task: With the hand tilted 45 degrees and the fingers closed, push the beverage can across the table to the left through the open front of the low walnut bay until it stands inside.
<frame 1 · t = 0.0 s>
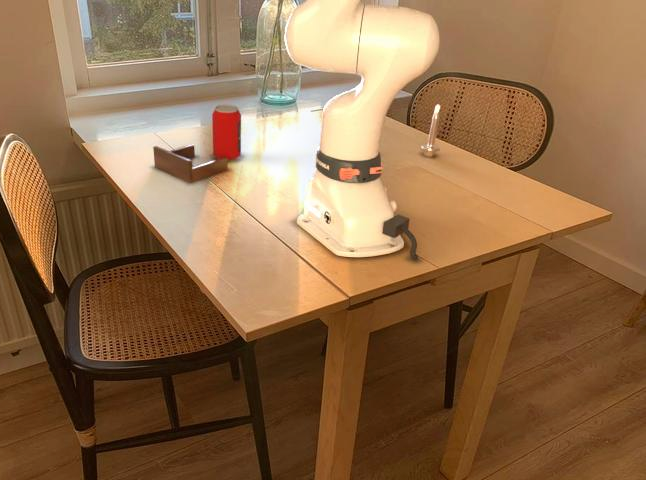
bay: (192, 168, 135), on the table
screw: (428, 155, 150), on the table
beverage can: (227, 157, 142), on the table
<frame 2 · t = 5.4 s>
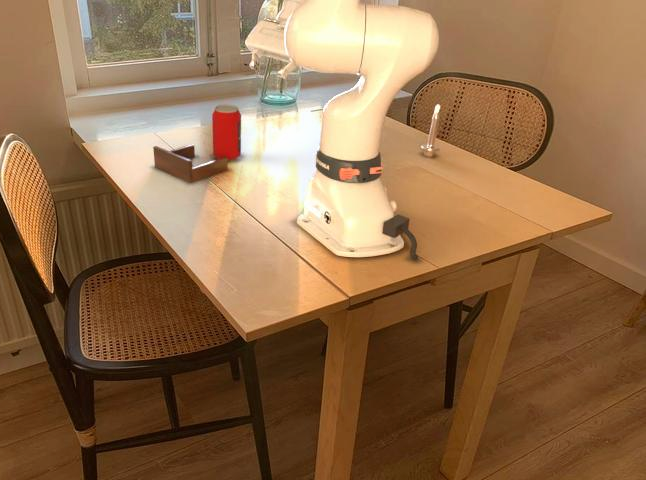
hand: (266, 72, 141), 18 cm above the table, tool tilted 45°, fingers open, 8 cm apart
nothing on the table moved.
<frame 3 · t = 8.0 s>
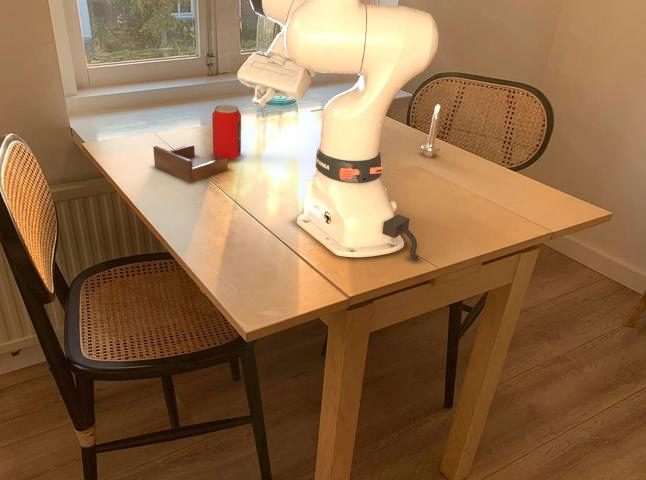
hand: (257, 104, 143), 11 cm above the table, tool tilted 45°, fingers closed
nothing on the table moved.
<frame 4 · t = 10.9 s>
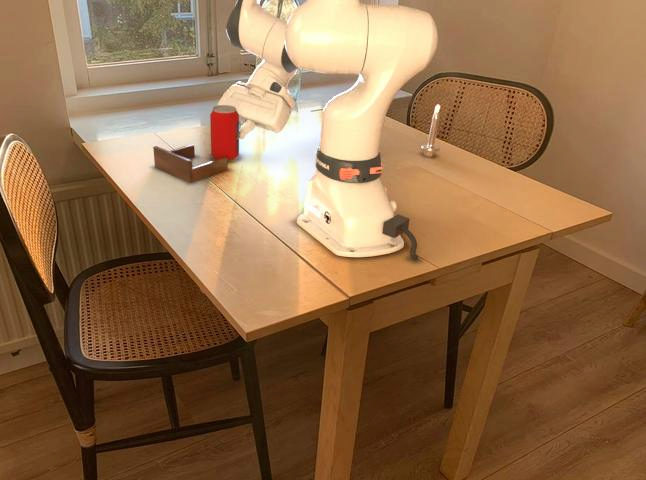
hand: (236, 136, 142), 4 cm above the table, tool tilted 45°, fingers closed, pressing on beverage can
beverage can: (225, 158, 142), on the table, touching gripper
everything else where it was.
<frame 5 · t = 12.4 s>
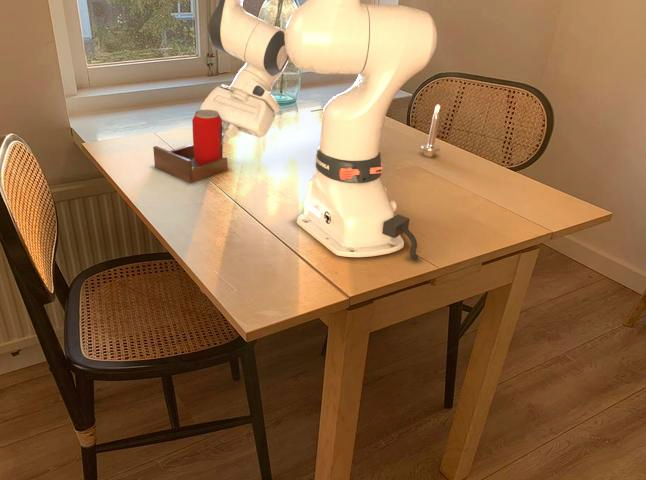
hand: (219, 141, 139), 4 cm above the table, tool tilted 45°, fingers closed, pressing on beverage can
beverage can: (208, 164, 138), on the table, touching gripper
everything else where it was.
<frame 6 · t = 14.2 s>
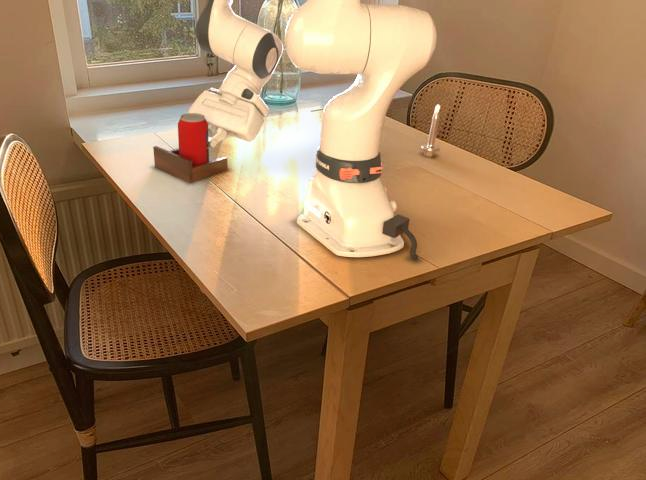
hand: (207, 145, 136), 4 cm above the table, tool tilted 45°, fingers closed
beverage can: (194, 168, 136), on the table
everything else where it was.
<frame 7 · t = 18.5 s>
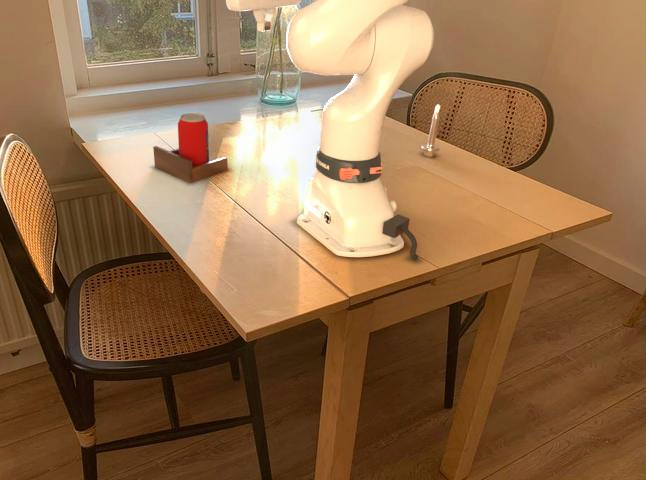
hand: (264, 30, 127), 29 cm above the table, tool pointing down, fingers closed
nothing on the table moved.
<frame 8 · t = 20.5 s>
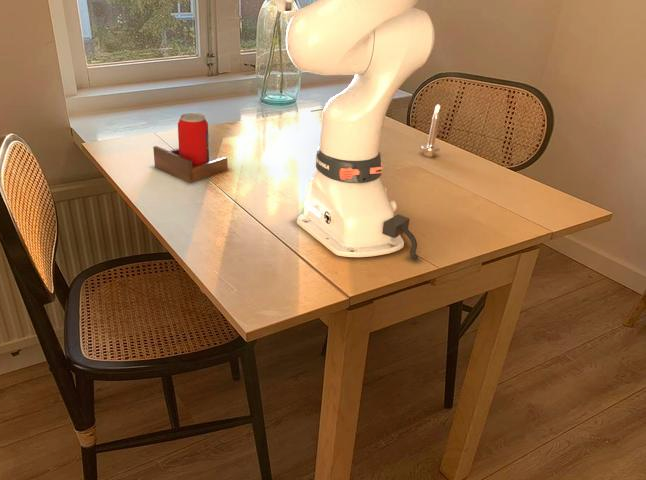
hand: (285, 11, 125), 33 cm above the table, tool pointing down, fingers closed
nothing on the table moved.
at the end: beverage can 0.5 cm from the bay (horizontally); beverage can tilted 0° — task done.
